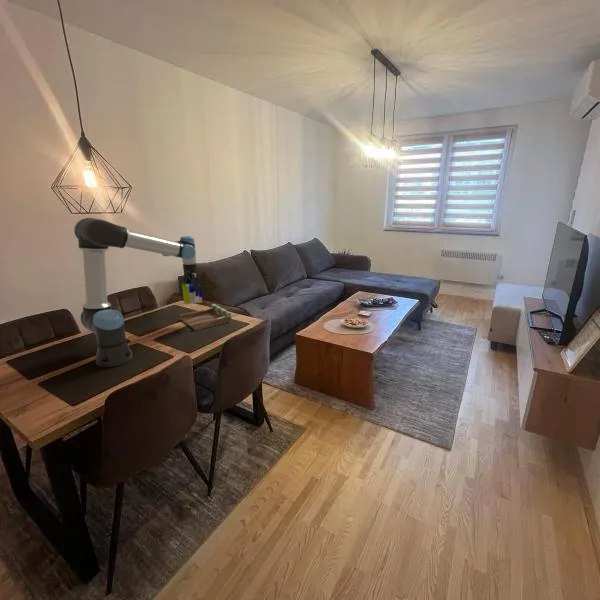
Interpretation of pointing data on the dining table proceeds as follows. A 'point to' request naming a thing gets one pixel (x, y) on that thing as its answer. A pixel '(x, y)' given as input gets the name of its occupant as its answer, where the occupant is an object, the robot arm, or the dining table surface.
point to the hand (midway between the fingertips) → (192, 298)
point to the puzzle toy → (190, 293)
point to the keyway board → (206, 317)
